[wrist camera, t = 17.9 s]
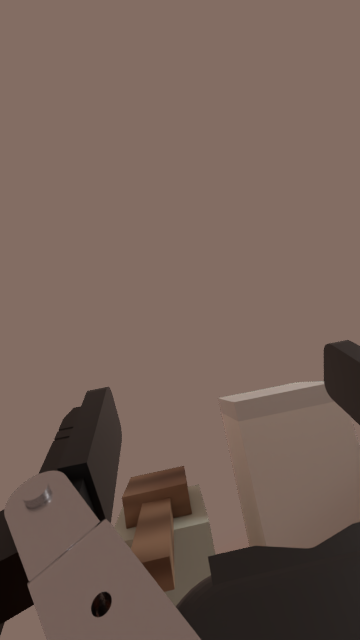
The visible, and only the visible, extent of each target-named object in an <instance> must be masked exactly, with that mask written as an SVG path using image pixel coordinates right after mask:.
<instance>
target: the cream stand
mask: <svg viewBox="0 0 360 640" xmlns="http://www.w3.org/2000/svg"><path fill="white" fill-rule="evenodd" d="M218 400H219V405H220V410H221V415H222V419H223V424H224V429H225V433H226V437H227V443H228V447H229V452H230V457H231V462H232V466H233V471H234V476H235V480H236V485H237V490H238V494H239V499H240V503H241V509H242V513H243V518H244V522H245V527H246V532H247V537H248V541H249V546H250V547H252V546H271V547H289V548H313V547H315V546H317V545H319V544H320V543H322V542H323V541H325V540H327V539H328V538H330V537H332V536H333V535H335V534H337V533H338V532H340V531H341V530H343V529H345V528H346V527H348V526H350V525H351V524H353V523H357V522H360V445H359V441H358V438H357V435H356V432H355V428H354V425H353V422H352V419H351V416H350V415H348V414H347V413H346V412H345V411H344V410H343V409H342V408H341V407H340V406H339V405H338V404H337V403H336V402H335V401H333V400H332V399H331V398H330V396H329V395H328V393H327V391H326V388H325V385H324V381H322V382H296V383H292V384H287V385H282V386H277V387H272V388H267V389H262V390H257V391H252V392H247V393H242V394H237V395H232V396H227V397H222V398H218Z"/></svg>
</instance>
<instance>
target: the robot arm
mask: <svg viewBox="0 0 360 640" xmlns="http://www.w3.org/2000/svg"><path fill="white" fill-rule="evenodd" d="M324 385H325V388H326V391H327V393H328V395H329V396H330V398H331V399H332V400H333V401H335V402H336V403H337V404H338V405H339V406H340V407H341V408H342V409H343V410H344V411H345V412H346V413H347V414H348V415H350V416H351V417H352V418H353V419H354V420H355V421H356V422H357V423H358V424H359V425H360V346H358V345H357V344H355V343H353V342H351V341H349V340H345V341H340V342H335V343H330V344H327V345H325V348H324ZM121 441H122V434H121V425H120V421H119V418H118V414H117V410H116V407H115V403H114V399H113V396H112V392H111V390H110V388H109V387H105V388H100V389H95V390H90V391H87V393H86V395H85V398H84V400H83V403H82V406H81V407H76V408H73V409H72V410H71V412H69V414H68V415H67V416H66V417H65V418H64V419H63V421H62V423H61V425H60V428H59V432H57V434H56V437H55V441H53V443H52V445H51V447H50V450H49V452H48V454H47V456H46V459H45V461H44V463H43V465H42V467H41V470H40V472H39V474H38V475H36V476H34V477H32V478H30V479H28V480H27V481H25V482H24V483H23V484H22V485H20V487H18V488H17V489H16V490H15V491H14V493H13V494H12V495H11V496H10V498H9V500H8V501H7V503H6V506H5V509H4V510H2V511H0V635H1V632H2V628H3V625H4V622H5V621H7V620H9V619H10V618H12V617H14V616H15V615H17V614H19V613H21V612H22V611H24V610H26V609H27V608H29V607H31V606H32V605H35V608H36V611H37V613H38V616H39V619H40V622H41V625H42V627H43V630H44V633H45V636H46V639H47V640H360V522H357V523H353V524H351V525H350V526H348V527H346V528H345V529H343V530H341V531H340V532H338V533H337V534H335V535H333V536H332V537H330V538H328V539H327V540H325V541H323V542H322V543H320V544H319V545H317V546H315V547H313V548H289V547H271V546H252V547H248V548H243V549H239V550H235V551H230V552H226V553H221V554H217V555H213V556H208V561H209V566H210V572H211V575H210V576H208V577H207V578H205V579H204V580H202V581H201V582H199V583H198V584H197V585H196V586H194V587H193V588H192V589H191V590H190V591H189V592H188V593H187V594H186V595H185V596H184V597H183V598H182V599H181V600H180V601H179V603H178V604H177V605H176V607H175V605H174V604H173V603H172V602H171V600H170V599H169V598H168V596H167V595H166V594H165V593H164V591H163V590H162V589H161V587H160V586H159V585H158V584H157V582H156V581H155V580H154V578H153V577H152V576H151V575H150V573H149V572H148V571H147V569H146V568H145V567H144V566H143V564H142V563H141V562H140V561H139V559H138V558H137V557H136V555H135V554H134V553H133V552H132V550H131V549H130V548H129V546H128V545H127V544H126V543H125V541H124V540H123V539H122V537H121V536H120V535H119V534H118V532H117V531H116V530H115V528H114V527H113V526H112V525H111V517H112V509H113V501H114V493H115V487H116V479H117V471H118V464H119V456H120V449H121Z"/></svg>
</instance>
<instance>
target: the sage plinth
mask: <svg viewBox="0 0 360 640" xmlns="http://www.w3.org/2000/svg"><path fill="white" fill-rule="evenodd" d="M188 492H189V498H190V504H191V510H192V514H189V515H185V516H180V517H176V518H174V575H175V589H174V590H170V591H166V592H164V593H165V594H166V595H167V596H168V598H169V599H170V600H171V602H172V603H173V604H174V605H175V607H176V605H177V604H178V603H179V601H180V600H181V599H182V598H183V597H184V596H185V595H186V594H187V593H188V592H189V591H190V590H191V589H192V588H193V587H194V586H196V585H197V584H198V583H199V582H201V581H202V580H204V579H205V578H207V577H208V576H210V575H211V572H210V566H209V561H208V556H213V555H215V550H214V545H213V539H212V534H211V529H210V524H209V519H208V516H207V512H206V509H205V505H204V501H203V498H202V494H201V491H200V487H199V485H195V486H190V487H188ZM114 528H115V530H116V531H117V532H118V534H119V535H120V536H121V537H122V539H123V540H124V541H125V543H126V544H127V545H128V546H129V548H130V549H131V547H132V543H133V539H134V535H135V531H136V527H132V528H128V529H126V523H125V515H124V508H123V507H122V510H121V512H120V515H119V517H118V520H117V522H116V525H115V527H114Z"/></svg>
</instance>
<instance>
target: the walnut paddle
mask: <svg viewBox="0 0 360 640" xmlns="http://www.w3.org/2000/svg"><path fill="white" fill-rule="evenodd" d="M122 500H123V508H124V515H125V523H126V529H128V528H132V527H136V531H135V535H134V539H133V543H132V547H131V550H132V552H133V553H134V554H135V555H136V557H137V558H138V559H139V561H140V562H141V563H142V564H143V566H144V567H145V568H146V569H147V571H148V572H149V573H150V575H151V576H152V577H153V578H154V580H155V581H156V582H157V584H158V585H159V586H160V587H161V589H162V590H163V591H164V592H166V591H170V590H174V589H175V575H174V518H176V517H180V516H185V515H189V514H192V510H191V504H190V498H189V492H188V486H187V481H186V475H185V470H184V466H182V467H177V468H172V469H168V470H163V471H158V472H153V473H149V474H144V475H140V476H135V477H131V479H130V481H129V483H128V485H127V488H126V490H125V492H124V494H123V497H122Z"/></svg>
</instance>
